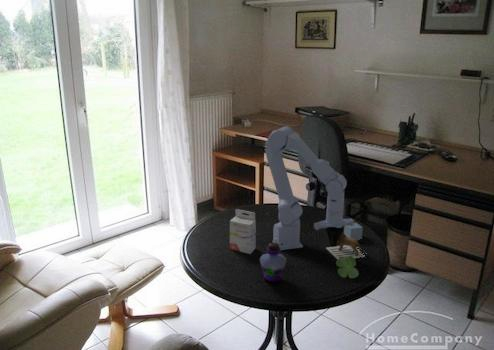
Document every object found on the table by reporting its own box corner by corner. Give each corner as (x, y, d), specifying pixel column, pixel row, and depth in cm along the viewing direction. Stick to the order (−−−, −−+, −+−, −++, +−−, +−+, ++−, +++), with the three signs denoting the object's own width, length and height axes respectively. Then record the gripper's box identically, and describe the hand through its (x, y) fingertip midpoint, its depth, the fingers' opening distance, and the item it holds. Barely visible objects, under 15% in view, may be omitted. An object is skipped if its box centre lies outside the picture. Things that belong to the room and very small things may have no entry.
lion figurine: (329, 249, 150) (330, 231, 147) (333, 245, 153) (334, 227, 151) (362, 257, 144) (363, 238, 142) (365, 252, 147) (366, 234, 145)
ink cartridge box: (229, 250, 150) (228, 212, 146) (235, 244, 154) (234, 208, 150) (250, 254, 146) (250, 216, 142) (256, 249, 150) (256, 211, 146)
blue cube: (350, 242, 157) (351, 228, 155) (343, 236, 161) (344, 223, 160) (361, 240, 158) (362, 227, 157) (354, 235, 163) (356, 222, 161)
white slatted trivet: (338, 260, 142) (338, 259, 142) (325, 248, 151) (325, 247, 151) (369, 256, 145) (369, 255, 145) (354, 244, 155) (354, 243, 155)
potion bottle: (260, 285, 126) (260, 250, 123) (258, 271, 135) (258, 238, 131) (288, 285, 127) (289, 250, 123) (284, 271, 135) (285, 237, 132)
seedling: (348, 285, 136) (349, 284, 130) (330, 267, 138) (330, 266, 132) (363, 269, 136) (365, 268, 130) (344, 252, 139) (345, 250, 133)
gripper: (321, 216, 136) (319, 253, 140) (359, 211, 140) (356, 247, 144) (312, 208, 143) (310, 244, 147) (349, 204, 147) (346, 239, 151)
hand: (332, 245), depth 146 cm, fingers closed
